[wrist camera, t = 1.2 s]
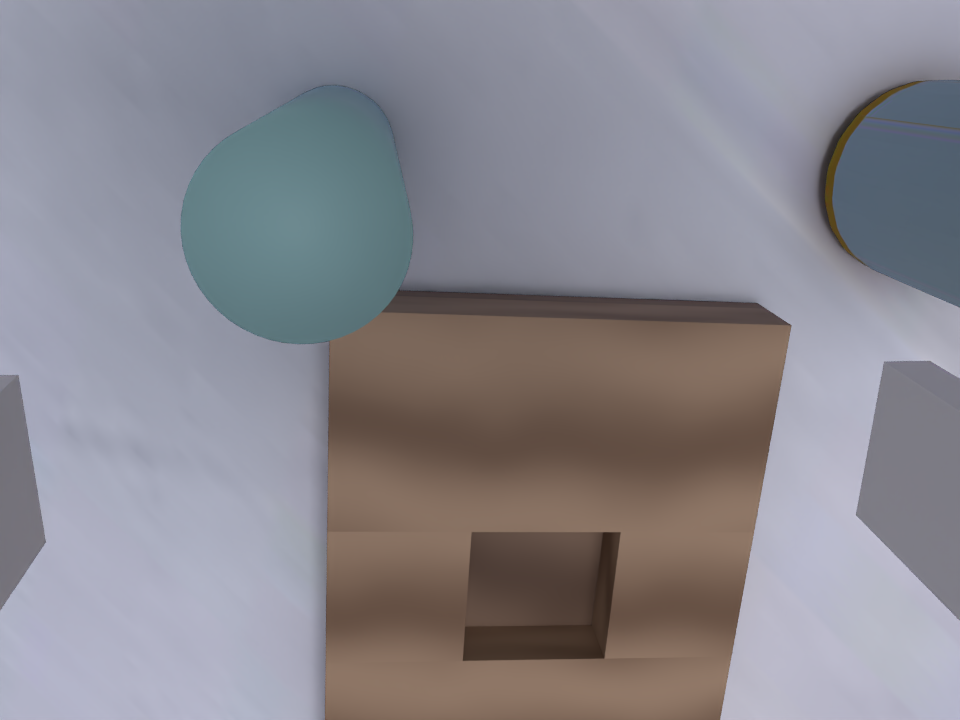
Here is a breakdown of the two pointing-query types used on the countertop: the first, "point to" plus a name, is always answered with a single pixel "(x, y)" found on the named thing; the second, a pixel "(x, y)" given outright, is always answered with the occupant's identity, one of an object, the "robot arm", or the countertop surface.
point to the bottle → (902, 187)
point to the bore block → (543, 505)
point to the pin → (301, 219)
